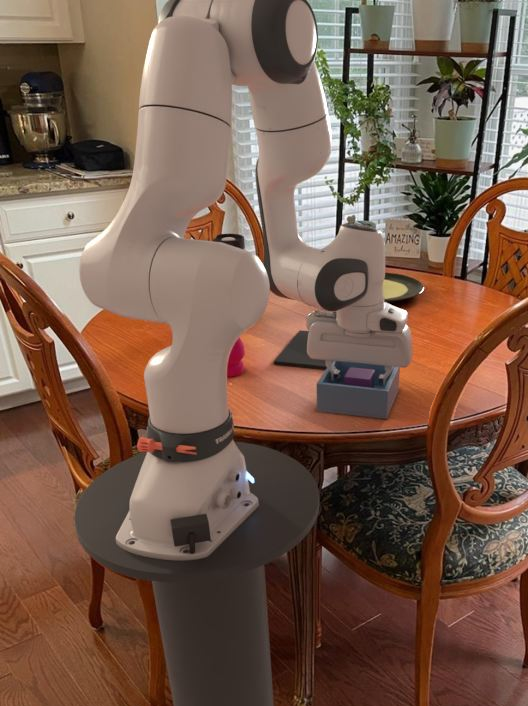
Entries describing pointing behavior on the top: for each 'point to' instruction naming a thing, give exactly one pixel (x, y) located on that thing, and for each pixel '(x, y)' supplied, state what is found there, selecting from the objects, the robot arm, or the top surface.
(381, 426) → the top surface
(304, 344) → the plate
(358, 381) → the block
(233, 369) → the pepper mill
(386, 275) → the plate
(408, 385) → the top surface
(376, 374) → the basket
